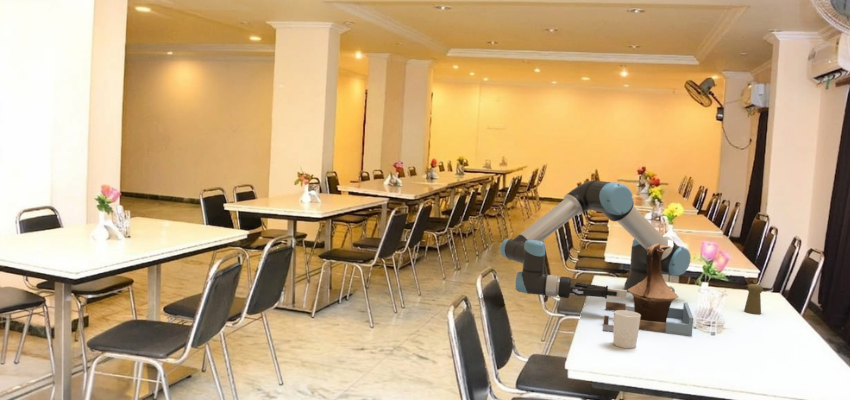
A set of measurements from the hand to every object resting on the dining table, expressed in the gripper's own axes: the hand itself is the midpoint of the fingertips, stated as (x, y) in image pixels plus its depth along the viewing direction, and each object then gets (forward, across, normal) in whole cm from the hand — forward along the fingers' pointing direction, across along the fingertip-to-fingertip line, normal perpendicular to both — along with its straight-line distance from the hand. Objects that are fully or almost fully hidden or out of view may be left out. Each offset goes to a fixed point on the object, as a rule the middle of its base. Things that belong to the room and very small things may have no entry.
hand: (626, 294), depth 249 cm
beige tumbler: (0, +34, -9) cm, 35 cm away
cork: (+48, -38, -9) cm, 62 cm away
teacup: (+11, -32, -9) cm, 35 cm away
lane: (+3, 0, -9) cm, 9 cm away
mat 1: (-2, +16, -9) cm, 19 cm away
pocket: (+17, 0, -9) cm, 20 cm away
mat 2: (+4, -17, -9) cm, 19 cm away
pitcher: (+9, 0, -9) cm, 13 cm away
